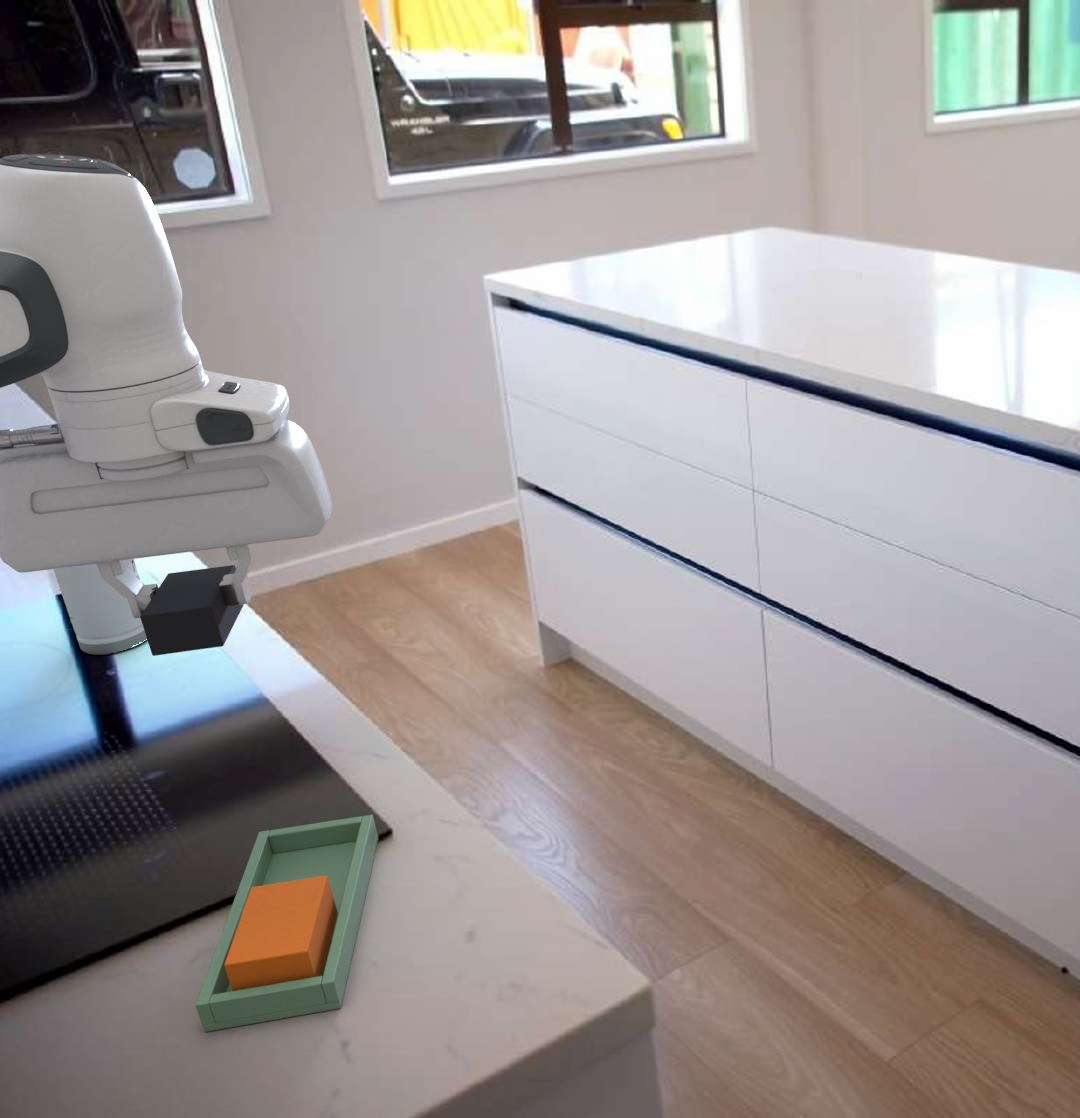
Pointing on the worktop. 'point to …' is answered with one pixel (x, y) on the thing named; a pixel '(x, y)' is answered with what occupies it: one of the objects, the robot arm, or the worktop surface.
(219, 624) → the dark grey rectangular block
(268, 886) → the orange block
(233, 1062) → the worktop surface
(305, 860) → the tray
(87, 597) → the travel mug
